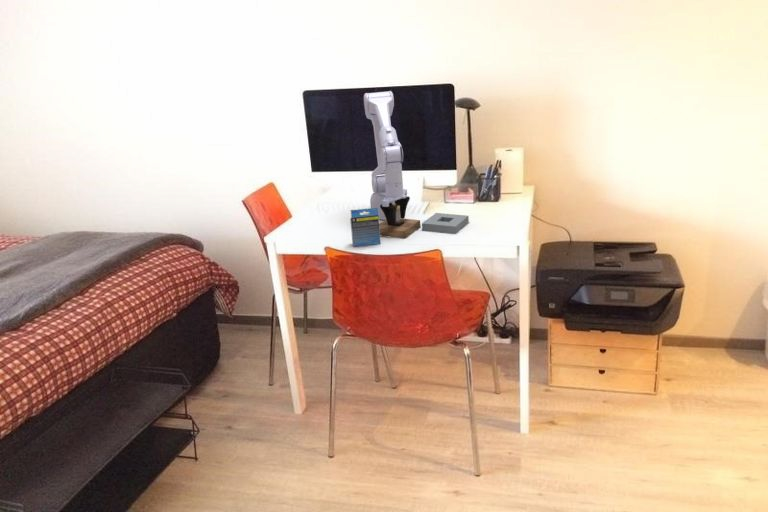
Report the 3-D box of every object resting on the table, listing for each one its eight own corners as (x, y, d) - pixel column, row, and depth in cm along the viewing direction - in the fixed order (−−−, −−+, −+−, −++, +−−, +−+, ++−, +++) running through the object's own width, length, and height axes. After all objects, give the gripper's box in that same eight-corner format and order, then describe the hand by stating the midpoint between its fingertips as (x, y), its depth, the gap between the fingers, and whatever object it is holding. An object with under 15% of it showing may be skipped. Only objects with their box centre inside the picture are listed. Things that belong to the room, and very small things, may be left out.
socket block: (373, 234, 203) (372, 227, 202) (389, 223, 213) (389, 217, 212) (405, 238, 198) (404, 231, 197) (420, 227, 208) (420, 220, 207)
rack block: (422, 230, 204) (421, 223, 203) (436, 219, 214) (436, 212, 213) (455, 233, 199) (455, 226, 198) (468, 222, 208) (468, 215, 208)
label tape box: (379, 240, 198) (376, 203, 194) (380, 244, 194) (378, 207, 190) (352, 243, 197) (348, 206, 193) (353, 247, 193) (350, 210, 189)
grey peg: (391, 232, 205) (389, 206, 202) (395, 229, 207) (393, 203, 204) (399, 232, 203) (397, 207, 200) (402, 230, 206) (401, 204, 203)
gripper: (394, 188, 192) (397, 229, 196) (414, 177, 203) (416, 215, 208) (375, 187, 195) (378, 227, 200) (395, 176, 207) (398, 214, 211)
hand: (396, 221), depth 204 cm, fingers open, 7 cm apart
